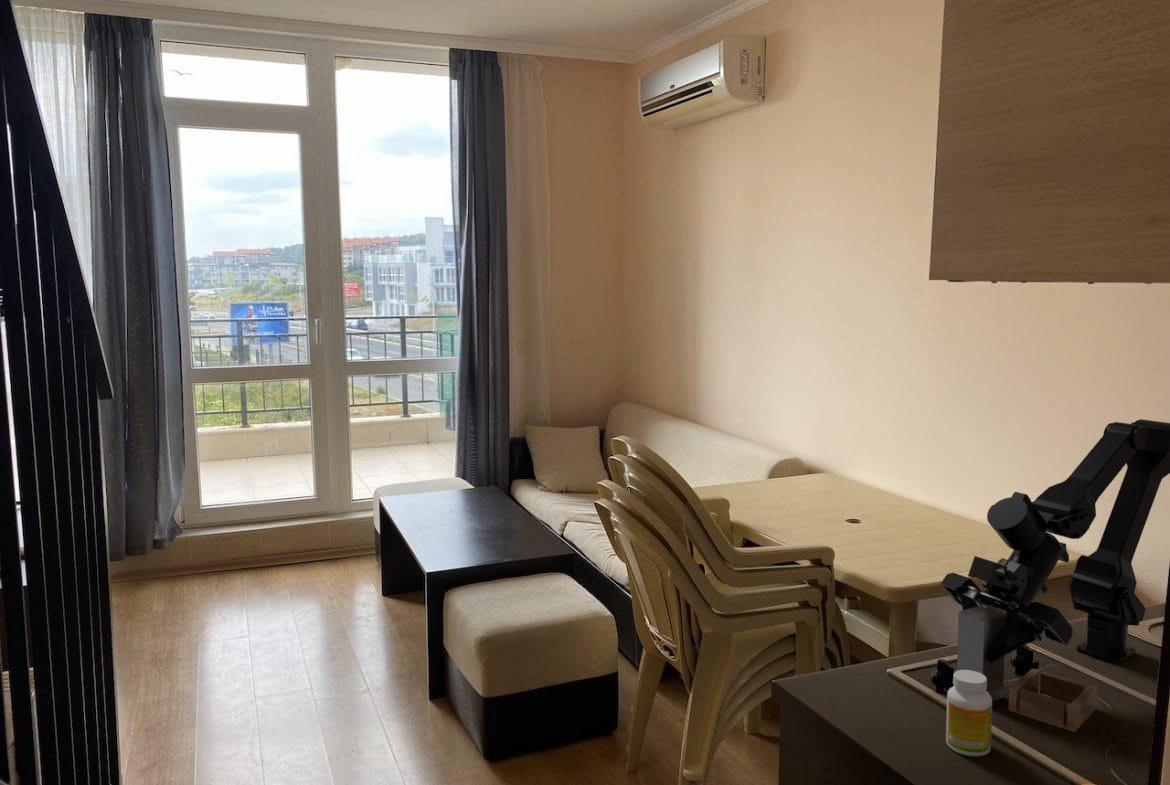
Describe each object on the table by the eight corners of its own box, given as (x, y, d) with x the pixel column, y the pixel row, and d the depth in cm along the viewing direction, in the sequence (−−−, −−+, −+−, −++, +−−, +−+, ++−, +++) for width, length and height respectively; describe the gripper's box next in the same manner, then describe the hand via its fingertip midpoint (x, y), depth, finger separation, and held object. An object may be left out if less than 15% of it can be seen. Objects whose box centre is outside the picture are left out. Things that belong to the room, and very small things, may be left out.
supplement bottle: (995, 759, 111) (998, 687, 110) (950, 755, 112) (952, 684, 111) (985, 737, 116) (987, 668, 115) (942, 734, 117) (943, 665, 116)
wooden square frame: (1031, 691, 129) (1032, 668, 129) (1095, 711, 123) (1097, 687, 122) (1008, 712, 123) (1009, 688, 123) (1074, 734, 117) (1076, 708, 117)
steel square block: (977, 685, 131) (979, 605, 129) (1002, 698, 127) (1005, 615, 125) (956, 692, 129) (958, 611, 127) (981, 705, 125) (984, 621, 123)
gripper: (950, 521, 135) (896, 603, 131) (1062, 553, 118) (1004, 648, 115) (984, 562, 139) (933, 642, 136) (1097, 598, 123) (1042, 691, 119)
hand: (973, 654), depth 126 cm, fingers open, 5 cm apart
